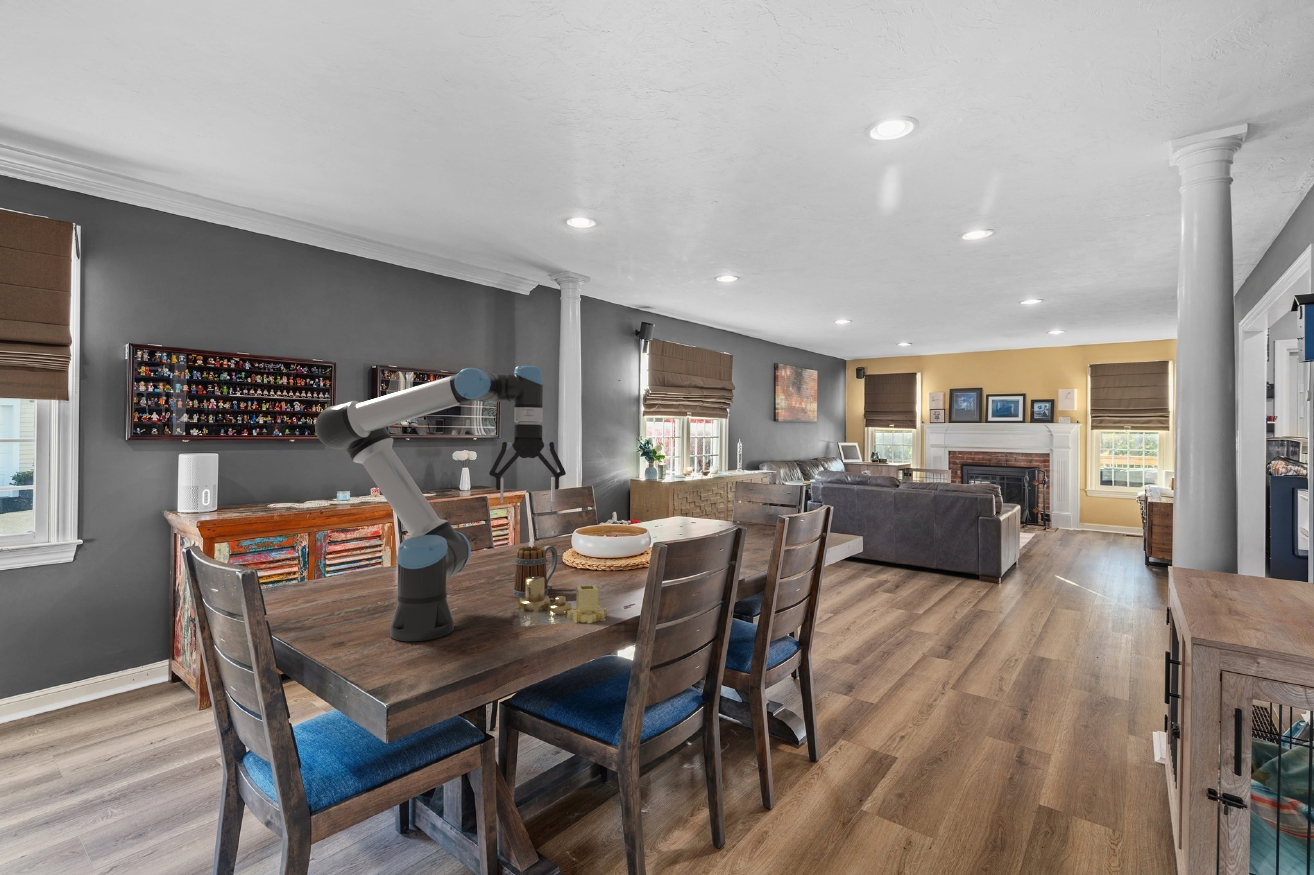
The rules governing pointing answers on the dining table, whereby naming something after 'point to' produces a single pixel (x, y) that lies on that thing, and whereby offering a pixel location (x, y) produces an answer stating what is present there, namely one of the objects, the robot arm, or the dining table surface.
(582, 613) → the gear
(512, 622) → the dining table surface
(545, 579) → the mug
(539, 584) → the carrier
